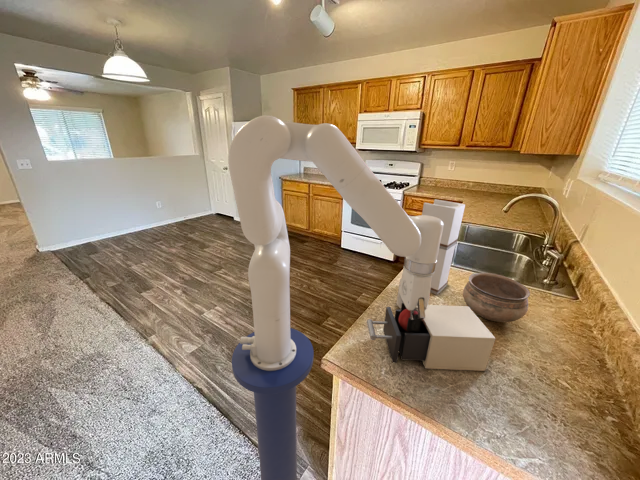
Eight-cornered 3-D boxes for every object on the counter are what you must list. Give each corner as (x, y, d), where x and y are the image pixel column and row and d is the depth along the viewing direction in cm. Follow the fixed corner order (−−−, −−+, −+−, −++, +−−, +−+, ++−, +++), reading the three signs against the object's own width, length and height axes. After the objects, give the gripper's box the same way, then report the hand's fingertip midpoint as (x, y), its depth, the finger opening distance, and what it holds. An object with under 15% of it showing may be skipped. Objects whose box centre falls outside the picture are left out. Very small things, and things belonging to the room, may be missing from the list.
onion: (403, 321, 78) (407, 298, 75) (422, 331, 74) (427, 307, 72) (393, 330, 74) (396, 306, 72) (412, 341, 71) (416, 316, 68)
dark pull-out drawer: (369, 361, 71) (373, 334, 68) (363, 330, 82) (366, 305, 79) (447, 364, 70) (454, 338, 67) (430, 332, 82) (435, 308, 79)
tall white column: (447, 285, 112) (465, 204, 99) (437, 294, 105) (455, 208, 92) (421, 275, 119) (435, 199, 107) (410, 284, 112) (423, 203, 100)
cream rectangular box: (425, 368, 70) (432, 335, 66) (410, 333, 83) (415, 304, 79) (485, 371, 70) (495, 338, 66) (460, 335, 83) (468, 306, 79)
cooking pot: (514, 347, 78) (527, 313, 74) (448, 318, 90) (456, 287, 86) (526, 311, 96) (537, 282, 91) (470, 291, 108) (477, 264, 103)
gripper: (396, 250, 75) (388, 304, 82) (415, 280, 59) (403, 344, 66) (422, 251, 75) (413, 305, 82) (448, 281, 59) (434, 345, 65)
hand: (409, 322), depth 73 cm, fingers closed on onion, 5 cm apart
